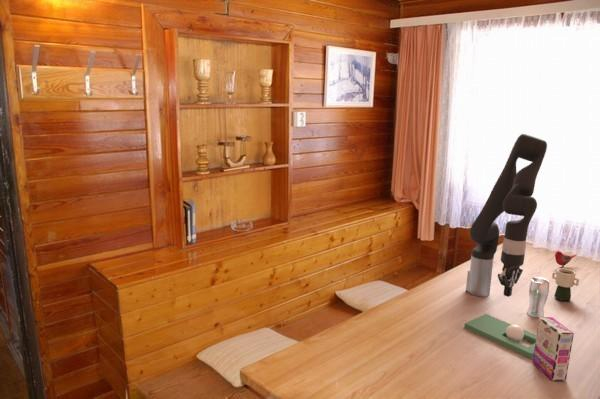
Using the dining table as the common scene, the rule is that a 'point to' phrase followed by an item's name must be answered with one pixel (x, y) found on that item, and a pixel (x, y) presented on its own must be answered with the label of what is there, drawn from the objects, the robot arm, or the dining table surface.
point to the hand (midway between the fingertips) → (507, 295)
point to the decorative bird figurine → (562, 258)
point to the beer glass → (538, 296)
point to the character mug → (564, 283)
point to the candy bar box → (553, 348)
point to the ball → (515, 333)
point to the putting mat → (500, 334)
